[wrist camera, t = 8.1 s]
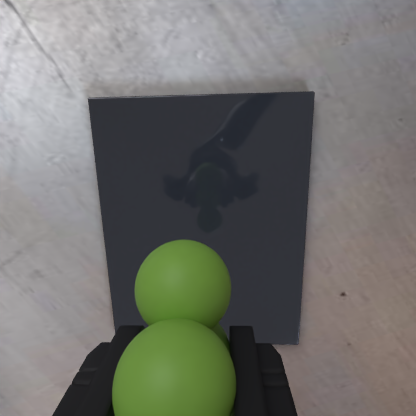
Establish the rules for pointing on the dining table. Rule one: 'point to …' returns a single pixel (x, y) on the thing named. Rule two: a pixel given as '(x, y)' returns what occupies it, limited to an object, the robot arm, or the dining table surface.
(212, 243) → the slate board
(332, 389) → the dining table surface
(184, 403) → the grapes
